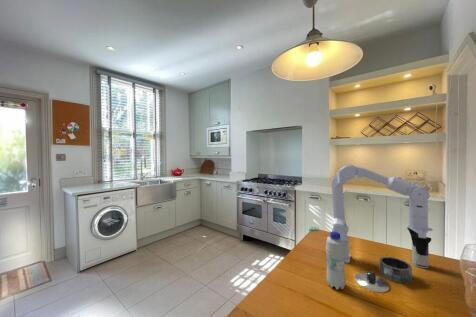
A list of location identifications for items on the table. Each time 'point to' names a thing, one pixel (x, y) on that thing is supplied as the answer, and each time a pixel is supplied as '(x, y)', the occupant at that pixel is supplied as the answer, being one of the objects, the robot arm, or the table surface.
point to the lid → (372, 282)
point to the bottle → (335, 261)
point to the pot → (395, 270)
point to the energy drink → (420, 258)
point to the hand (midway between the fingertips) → (418, 250)
